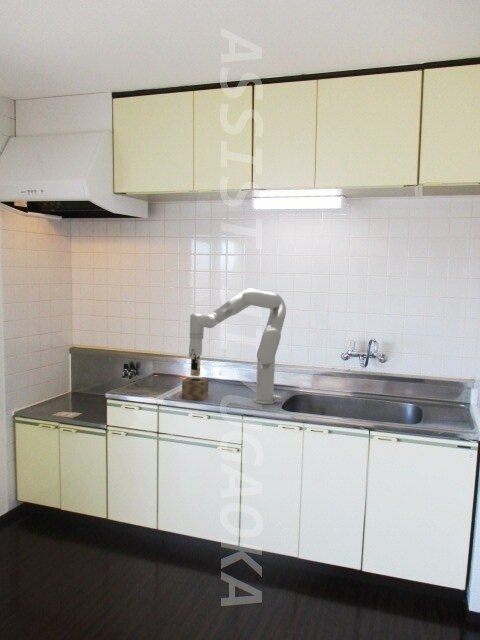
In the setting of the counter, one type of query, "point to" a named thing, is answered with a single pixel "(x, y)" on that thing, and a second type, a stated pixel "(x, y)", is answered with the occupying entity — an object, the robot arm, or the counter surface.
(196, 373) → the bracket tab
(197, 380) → the brown block
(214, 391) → the counter surface
